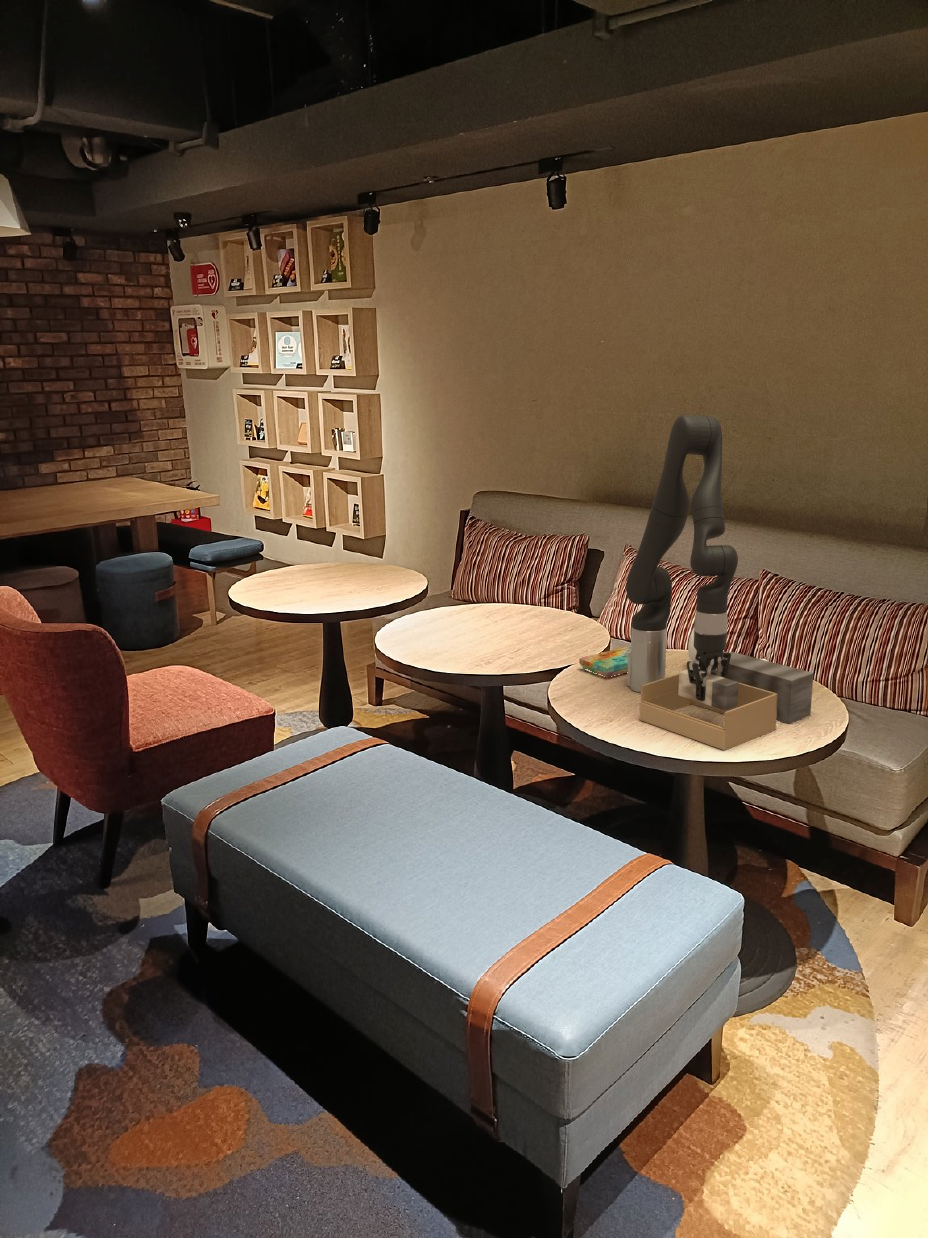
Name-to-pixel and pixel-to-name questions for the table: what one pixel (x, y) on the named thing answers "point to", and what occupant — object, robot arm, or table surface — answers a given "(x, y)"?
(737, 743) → the carton
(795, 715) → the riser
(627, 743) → the table surface
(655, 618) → the robot arm
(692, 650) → the sauce bottle
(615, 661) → the puzzle game
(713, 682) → the block
